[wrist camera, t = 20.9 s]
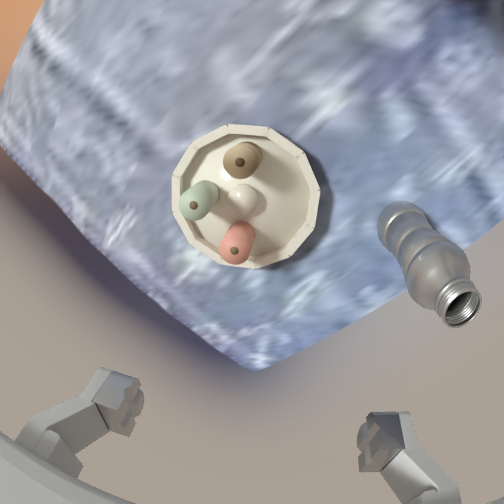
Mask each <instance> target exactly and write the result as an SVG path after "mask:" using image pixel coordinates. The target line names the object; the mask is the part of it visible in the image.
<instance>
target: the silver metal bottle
mask: <svg viewBox="0 0 504 504" xmlns="http://www.w3.org/2000/svg"><path fill="white" fill-rule="evenodd" d="M377 231H378V236H379V239H380V241H381V243H382V245H383V246H384V247H385V248H386V249H387V250H388V251H390V252H391V253H392V254H393V255H394V256H395V258H396V259H397V260H398V262H399V264H400V267H401V269H402V271H403V274H404V278H405V282H406V286H407V289H408V292H409V294H410V296H411V298H412V299H413V300H414V301H415V302H416V303H417V304H419V305H420V306H422V307H423V308H426V309H431V310H436V312H437V314H438V315H439V316H440V317H441V318H442V320H443V322H444V323H445V324H446V325H447V326H448V327H451V328H459V327H462V326H464V325H466V324H468V323H469V322H470V321H471V320H473V319H474V317H475V316H476V315H477V313H478V312H479V310H480V307H481V303H482V298H481V296H480V293H479V292H478V291H477V289H476V288H475V286H474V284H473V283H472V282H471V280H470V265H469V263H468V259H467V257H466V254H465V253H464V251H463V250H462V249H461V248H459V247H458V246H457V245H456V244H454V243H453V242H451V241H450V240H448V239H446V238H445V237H443V236H441V235H440V234H439V233H438V232H437V231H436V230H434V229H433V228H432V226H431V225H430V224H429V222H428V221H427V218H426V216H425V215H424V213H423V212H422V210H421V209H420V208H419V207H418V206H416V205H415V204H412V203H410V202H406V201H397V202H394V203H391V204H390V205H388V206H387V207H386V208H385V209H384V210H383V211H382V213H381V214H380V216H379V218H378V222H377Z"/></svg>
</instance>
